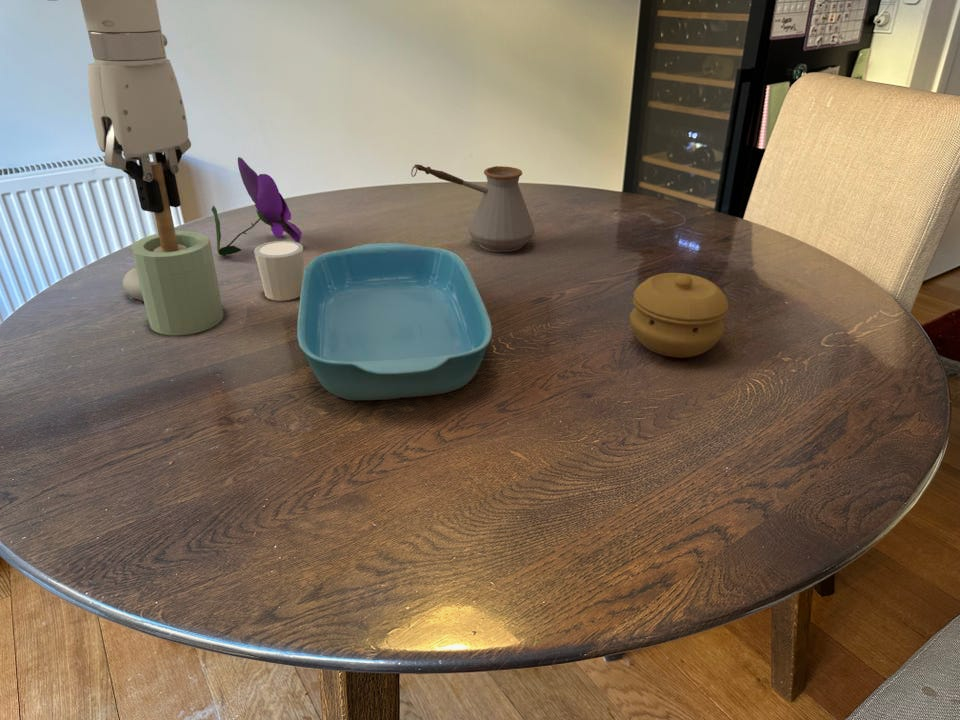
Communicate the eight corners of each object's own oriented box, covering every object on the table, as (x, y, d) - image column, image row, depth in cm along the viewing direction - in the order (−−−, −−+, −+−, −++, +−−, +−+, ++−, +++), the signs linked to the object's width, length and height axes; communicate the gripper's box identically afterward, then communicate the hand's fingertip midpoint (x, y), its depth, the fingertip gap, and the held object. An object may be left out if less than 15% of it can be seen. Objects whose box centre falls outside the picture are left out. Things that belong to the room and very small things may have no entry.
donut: (116, 289, 104) (138, 311, 98) (110, 268, 102) (132, 288, 96) (183, 273, 110) (208, 292, 103) (178, 252, 108) (204, 270, 102)
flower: (263, 296, 115) (322, 243, 118) (206, 227, 104) (274, 171, 108) (223, 270, 124) (280, 221, 128) (168, 204, 113) (232, 154, 117)
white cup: (277, 280, 108) (272, 237, 104) (317, 287, 106) (312, 243, 102) (251, 298, 102) (243, 252, 99) (292, 305, 100) (286, 259, 97)
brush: (157, 291, 91) (130, 167, 83) (165, 279, 94) (140, 159, 87) (189, 290, 91) (165, 167, 84) (196, 278, 95) (174, 159, 87)
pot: (695, 324, 97) (708, 256, 92) (735, 366, 87) (752, 292, 82) (614, 329, 95) (623, 260, 90) (645, 372, 85) (656, 297, 80)
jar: (140, 336, 91) (120, 257, 86) (161, 306, 99) (144, 231, 94) (215, 334, 92) (200, 255, 87) (229, 303, 100) (216, 230, 95)
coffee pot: (519, 230, 129) (523, 148, 122) (543, 252, 120) (549, 164, 112) (406, 242, 123) (403, 155, 116) (422, 265, 114) (420, 173, 106)
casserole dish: (508, 414, 77) (510, 357, 73) (299, 433, 73) (291, 374, 70) (456, 281, 108) (456, 237, 105) (309, 290, 105) (303, 245, 101)
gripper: (158, 41, 87) (185, 188, 96) (41, 52, 74) (85, 221, 83) (205, 45, 84) (229, 196, 93) (93, 57, 71) (133, 231, 80)
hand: (161, 207), depth 88 cm, fingers closed on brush, 2 cm apart
